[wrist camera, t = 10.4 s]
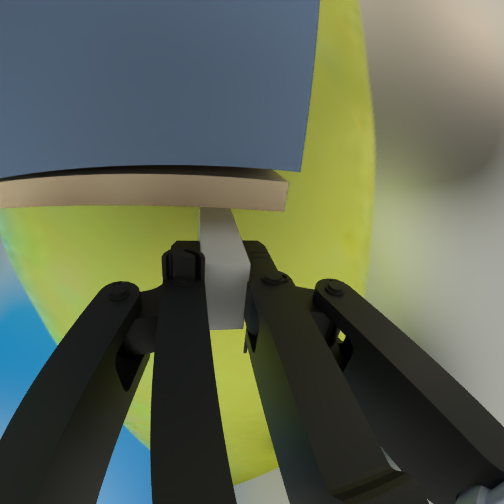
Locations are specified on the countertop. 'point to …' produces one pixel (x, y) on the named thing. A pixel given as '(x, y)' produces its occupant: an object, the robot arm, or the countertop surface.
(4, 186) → the door
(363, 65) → the countertop surface
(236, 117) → the cabinet
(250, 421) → the countertop surface
